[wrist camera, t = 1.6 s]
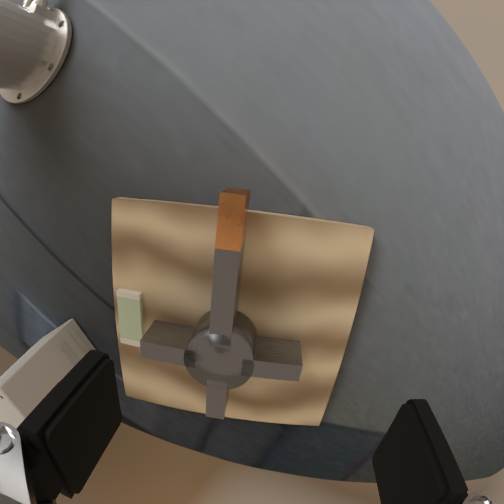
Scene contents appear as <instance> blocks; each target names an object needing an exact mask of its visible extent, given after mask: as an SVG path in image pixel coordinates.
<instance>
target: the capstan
mask: <svg viewBox="0 0 504 504" xmlns="http://www.w3.org/2000/svg"><path fill="white" fill-rule="evenodd" d="M249 199H250V190H245V189H236V188H227V189H225V190H223V191H221V192H220V197H219V207H218V219H217V230H216V242H215V254H214V267H213V281H212V296H211V310H210V311H208V312H207V313H205V314H204V315H203V316H202V317H201V318H200V320H199V321H198V323H197V326H196V327H194V326H188V325H182V324H176V323H171V322H165V321H160V320H154V321H153V323H152V324H151V326H150V327H149V328H148V330H147V331H146V333H145V334H144V335H143V337H142V338H141V340H140V349H141V357H143V358H147V359H152V360H156V361H161V362H166V363H171V364H176V365H181V366H185V367H186V369H187V371H188V373H189V374H190V375H191V376H192V377H193V378H194V379H195V380H196V381H197V382H199V383H200V384H202V385H204V386H206V387H207V390H206V417H211V418H218V419H224V416H225V411H226V407H227V402H228V397H229V390H230V389H234V388H237V387H240V386H241V385H243V384H245V383H246V382H247V381H248V380H249V379H250V377H258V378H266V379H276V380H286V381H297V382H299V379H300V375H301V371H302V367H303V363H302V354H301V346H300V341H299V340H290V339H280V338H272V337H263V336H257V331H256V328H255V326H254V324H253V322H252V321H251V320H250V319H249V318H248V317H247V316H246V315H245V314H243V313H242V312H240V311H238V301H239V291H240V282H241V272H242V263H243V254H244V245H245V235H246V226H247V217H248V208H249Z"/></svg>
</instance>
